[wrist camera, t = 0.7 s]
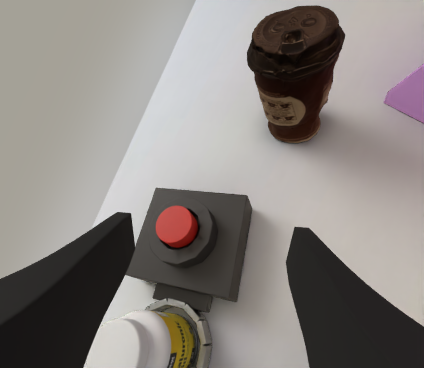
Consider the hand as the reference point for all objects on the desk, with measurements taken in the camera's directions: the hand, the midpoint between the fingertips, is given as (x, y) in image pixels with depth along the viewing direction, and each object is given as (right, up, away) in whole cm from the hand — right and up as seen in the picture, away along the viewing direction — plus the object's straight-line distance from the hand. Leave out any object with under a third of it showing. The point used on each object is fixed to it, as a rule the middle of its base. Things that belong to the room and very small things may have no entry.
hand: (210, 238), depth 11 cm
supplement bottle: (-4, -13, +14) cm, 19 cm away
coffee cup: (+11, +10, +22) cm, 26 cm away
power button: (-3, -2, +13) cm, 14 cm away
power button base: (-2, -4, +18) cm, 18 cm away
